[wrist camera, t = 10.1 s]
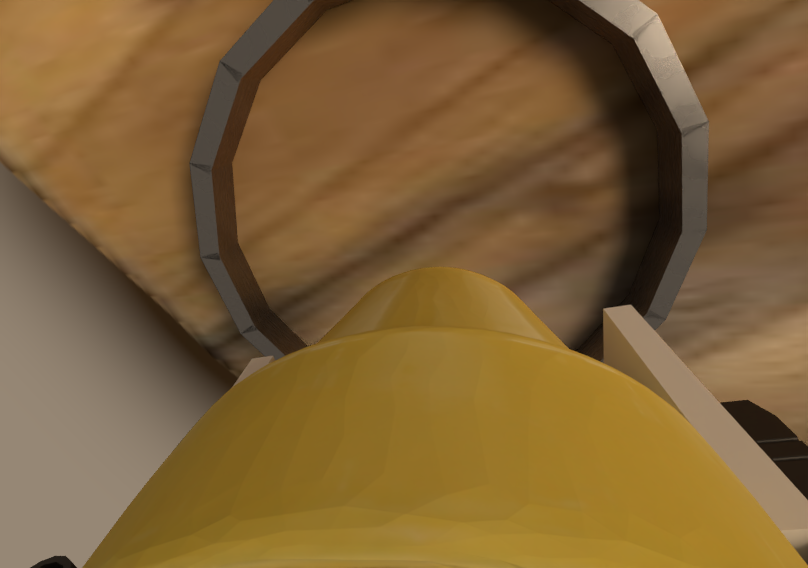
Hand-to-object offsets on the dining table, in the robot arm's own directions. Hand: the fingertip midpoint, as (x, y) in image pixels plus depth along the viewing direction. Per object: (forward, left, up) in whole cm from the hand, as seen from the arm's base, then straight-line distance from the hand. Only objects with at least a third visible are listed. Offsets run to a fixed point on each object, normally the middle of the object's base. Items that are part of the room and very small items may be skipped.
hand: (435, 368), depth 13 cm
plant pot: (0, 0, -1) cm, 1 cm away
